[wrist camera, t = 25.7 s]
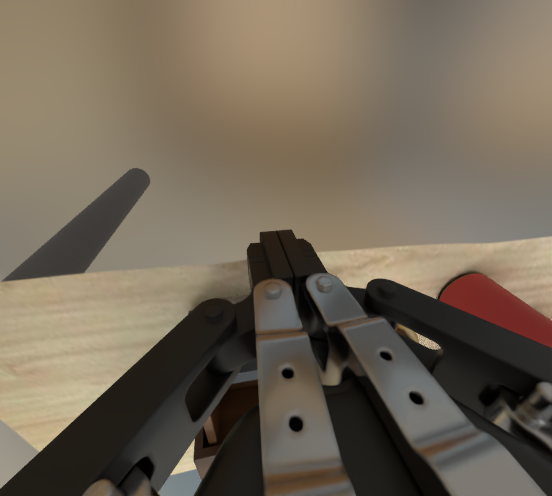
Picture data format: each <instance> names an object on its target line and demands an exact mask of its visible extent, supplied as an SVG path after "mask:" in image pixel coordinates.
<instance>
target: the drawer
mask: <svg viewBox="0 0 552 496" xmlns="http://www.w3.org/2000/svg"><path fill="white" fill-rule="evenodd" d="M248 296H249V295H243V296H236V297H228V298H220V299H225V300H228V301H230V302H231V303H232V304H235V303H238V302H240V301H242V300H244V299H245V298H247V297H248ZM192 311H193V310H192ZM192 311H189V313H188V314H190V313H191V312H192ZM300 324H301V328H302V323H301V321H300ZM258 403H259V391H258V372H257V359H255V360H253V361H251V362H249V363H247V364H245V365H243V366H241V369H240V372H239V373H238V375H237V376H236V378H235V379H234V381H233V382H232V384H231V385H230V387H229V388H228V390H227V391H226V393H225V394H224V396H223V397H222V399H221V400H220V402H219V403H218V405H217V406H216V407H215V409H214V410H213V412H212V413H211V415H210V416H209V418H208V419H207V421H206V422H205V424H204V425H203V426H204V429H205V432H206V436H207V439H208V442H209V446H210V447H212V446H216V445H221V444H222V443H223V441H224V439H225V438H226V436H227V434H228V433H229V431H230V430H231V429H232V427H233V426H234V424H235V423H236V422H237V421H238V420H239V419H240V418H241V417H242V416H243V415H244V414H245V413H246V412H247V411H248V410H249V409H251V408H252V407H254V406H255V405H257V404H258Z"/></svg>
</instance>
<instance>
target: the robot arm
mask: <svg viewBox="0 0 552 496" xmlns="http://www.w3.org/2000/svg"><path fill="white" fill-rule="evenodd" d="M247 261H248V275H249V282H250V288H251V293H250V295H249V296H248V297H247V298H245V299H244V300H242V301H240V302H238V303H235V304H232V303H231V302H230V301H228V300H225V299H220V298H216V299H210V300H207V301H205V302H203V303H201V304H200V305H198V306H197V307H196V308H195V309H194V310H193V311H192V312H191V313H190V314H188V315H187V316H186V317H185V318H184V319H183V320H182V321H181V322H180V323H179V324H178V325H177V326H176V327H174V328H173V329H172V330H171V331H170V332H169V333H168V334H167V335H166V336H165V337H164V338H163V339H161V340H160V341H159V342H158V343H157V344H156V345H155V346H154V347H153V348H152V349H151V350H150V351H149V352H147V353H146V354H145V355H144V356H143V357H142V358H141V359H140V360H139V361H138V362H137V363H136V364H134V365H133V366H132V367H131V368H130V369H129V370H128V371H127V372H126V373H125V374H124V375H123V376H122V377H120V378H119V379H118V380H117V381H116V382H115V383H114V384H113V385H112V386H111V387H110V388H109V389H108V390H106V391H105V392H104V393H103V394H102V395H101V396H100V397H99V398H98V399H97V400H96V401H95V402H93V403H92V404H91V405H90V406H89V407H88V408H87V409H86V410H85V411H84V412H83V413H82V414H81V415H79V416H78V417H77V418H76V419H75V420H74V421H73V422H72V423H71V424H70V425H69V426H68V427H67V428H65V429H64V430H63V431H62V432H61V433H60V434H59V435H58V436H57V437H56V438H55V439H54V440H52V441H51V442H50V443H49V444H48V445H47V446H46V447H45V448H44V449H43V450H42V451H41V452H40V453H38V454H37V455H36V456H35V457H34V458H33V459H32V460H31V461H30V462H29V463H28V464H27V465H26V466H24V467H23V468H22V469H21V470H20V471H19V472H18V473H17V474H16V475H15V476H14V477H13V478H12V479H10V480H9V481H8V482H7V483H6V484H5V485H4V486H3V487H2V488H1V489H0V496H160V495H159V493H158V492H159V490H160V489H161V487H162V486H163V484H164V483H165V481H166V480H167V478H168V477H169V476H170V474H171V473H172V471H173V470H174V468H175V467H176V465H177V464H178V462H179V461H180V459H181V458H182V456H183V455H184V453H185V452H186V450H187V449H188V447H189V446H190V444H191V443H192V441H193V440H194V439H195V437H196V436H197V434H198V433H199V431H200V430H201V428H202V427H203V425H204V424H205V422H206V421H207V419H208V418H209V416H210V415H211V413H212V412H213V410H214V409H215V407H216V406H217V405H218V403H219V402H220V400H221V399H222V397H223V396H224V394H225V393H226V391H227V390H228V388H229V387H230V385H231V384H232V382H233V381H234V379H235V378H236V376H237V375H238V373H239V372H240V369H241V366H243V365H245V364H247V363H249V362H251V361H253V360H255V359H257V372H258V391H259V403H258V404H257V405H255V406H254V407H252V408H251V409H249V410H248V411H247V412H246V413H245V414H244V415H243V416H242V417H241V418H240V419H239V420H238V421H237V422H236V423H235V424H234V426H233V427H232V429H231V430H230V431H229V433H228V434H227V436H226V438H225V439H224V441H223V443H222V445H221V447H220V448H219V450H218V452H217V454H216V456H215V458H214V459H213V461H212V463H211V465H210V467H209V469H208V470H207V472H206V474H205V476H204V478H203V479H202V481H201V483H200V485H199V487H198V489H197V491H196V492H195V494H194V496H552V348H551V347H548V346H546V345H544V344H541V343H539V342H536V341H534V340H532V339H529V338H527V337H525V336H522V335H520V334H517V333H515V332H513V331H510V330H508V329H505V328H503V327H501V326H498V325H496V324H494V323H491V322H489V321H486V320H484V319H482V318H479V317H477V316H475V315H472V314H470V313H467V312H465V311H463V310H460V309H458V308H456V307H453V306H451V305H448V304H446V303H444V302H441V301H439V300H436V299H434V298H432V297H429V296H427V295H425V294H422V293H420V292H417V291H415V290H413V289H410V288H408V287H406V286H403V285H401V284H398V283H396V282H394V281H391V280H387V279H374V280H371V281H370V282H369V283H368V284H367V287H366V289H363V288H353V287H347V286H345V285H344V284H343V282H342V281H341V280H340V279H339V278H338V277H336V276H334V275H332V274H328V272H327V271H326V269H325V267H324V266H323V264H322V262H321V261H320V259H319V257H317V254H316V252H315V251H314V249H313V247H312V245H311V244H310V243H309V242H307V241H306V240H304V239H296V237H295V235H294V233H293V231H292V230H279V231H268V232H260V243H251V244H250V245H249V247H248V249H247ZM300 321H301V323H302V328H301V324H300ZM398 324H400V325H402V326H404V327H406V328H408V329H410V330H412V331H414V332H416V333H418V334H420V335H422V336H424V337H426V338H428V339H430V340H432V341H434V342H436V343H437V344H438V345H439V346H440V347H441V348H440V349H439V350H432V349H429V348H427V347H425V346H423V345H421V344H419V343H418V342H416V341H414V340H412V339H410V338H408V337H406V336H404V335H402V334H400V333H399V332H397V331H396V328H397V326H398Z"/></svg>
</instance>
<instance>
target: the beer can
mask: <svg viewBox="0 0 552 496" xmlns="http://www.w3.org/2000/svg"><path fill="white" fill-rule="evenodd" d="M439 301H441V302H444V303H446V304H448V305H451V306H453V307H456V308H458V309H460V310H463V311H465V312H467V313H470V314H472V315H475V316H477V317H479V318H482V319H484V320H486V321H489V322H491V323H494V324H496V325H498V326H501V327H503V328H505V329H508V330H510V331H513V332H515V333H517V334H520V335H522V336H525V337H527V338H529V339H532V340H534V341H536V342H539V343H541V344H544V345H546V346H548V347H551V348H552V321H551V320H549V319H548V318H546V317H545V316H544V315H542V314H541V313H539V312H538V311H536V310H535V309H533V308H532V307H531V306H529V305H528V304H526V303H525V302H523V301H522V300H520V299H519V298H517V297H516V296H515V295H513V294H512V293H510V292H509V291H507V290H506V289H504V288H503V287H501V286H500V285H499V284H497V283H496V282H494V281H493V280H491V279H490V278H488V277H487V276H485V275H482V274H479V273H475V274H468V275H464V276H461V277H459V278H458V279H456V280H454V281H453V282H451V283H450V284H449V285H448V286H447V287H446V288H445V289H444V290H443V292H442V294H441V296H440V299H439Z"/></svg>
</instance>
